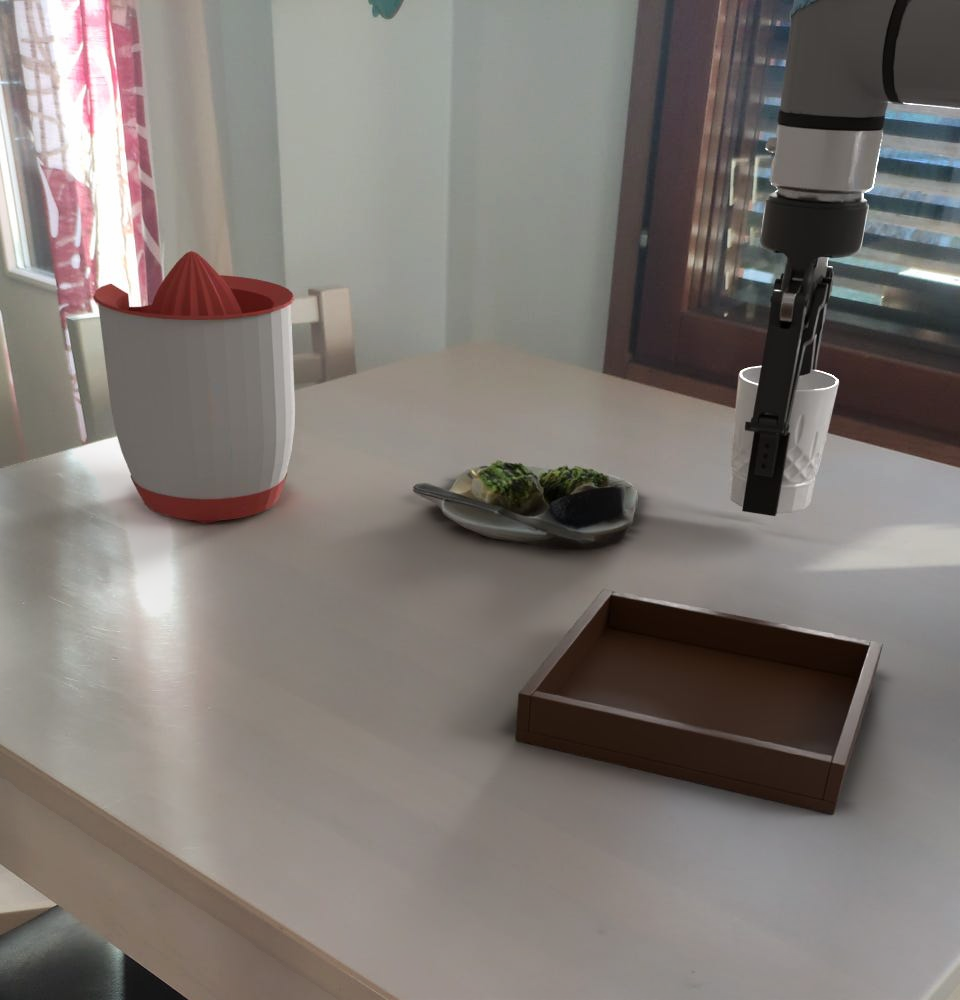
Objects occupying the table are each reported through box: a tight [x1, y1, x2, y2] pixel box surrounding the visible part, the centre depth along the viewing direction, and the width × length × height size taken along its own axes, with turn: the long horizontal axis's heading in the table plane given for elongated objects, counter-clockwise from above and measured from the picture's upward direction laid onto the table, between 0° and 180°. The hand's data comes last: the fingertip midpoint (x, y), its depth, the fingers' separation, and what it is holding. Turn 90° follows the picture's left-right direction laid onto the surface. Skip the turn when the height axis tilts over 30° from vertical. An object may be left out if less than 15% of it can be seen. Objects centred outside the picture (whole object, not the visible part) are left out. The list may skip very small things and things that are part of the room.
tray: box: [514, 588, 884, 815], centre depth 81 cm, size 20×18×3 cm
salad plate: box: [412, 460, 639, 551], centre depth 109 cm, size 19×18×5 cm
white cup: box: [728, 365, 840, 514], centre depth 103 cm, size 8×8×10 cm
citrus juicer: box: [93, 250, 296, 525], centre depth 104 cm, size 16×17×20 cm
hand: (769, 497), depth 106 cm, fingers closed on white cup, 7 cm apart
